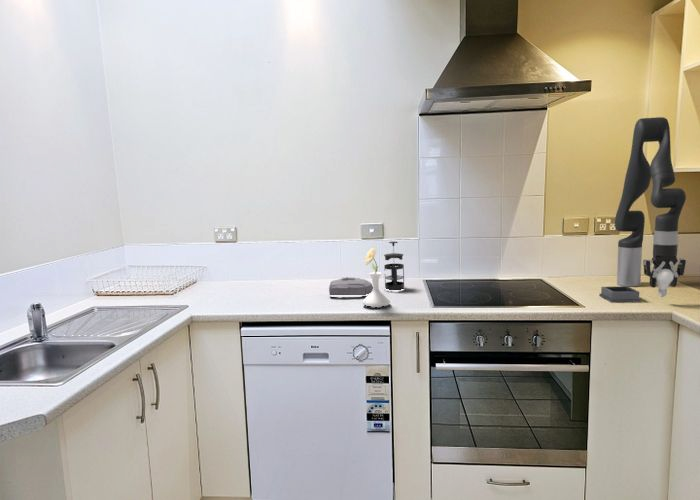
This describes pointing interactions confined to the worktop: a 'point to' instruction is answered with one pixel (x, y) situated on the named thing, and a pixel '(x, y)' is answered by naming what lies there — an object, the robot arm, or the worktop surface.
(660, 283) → the lightbulb
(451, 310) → the worktop surface
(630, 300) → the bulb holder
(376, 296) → the flower in vase
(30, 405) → the worktop surface
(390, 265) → the french press
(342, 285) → the soft grey pack
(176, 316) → the worktop surface
